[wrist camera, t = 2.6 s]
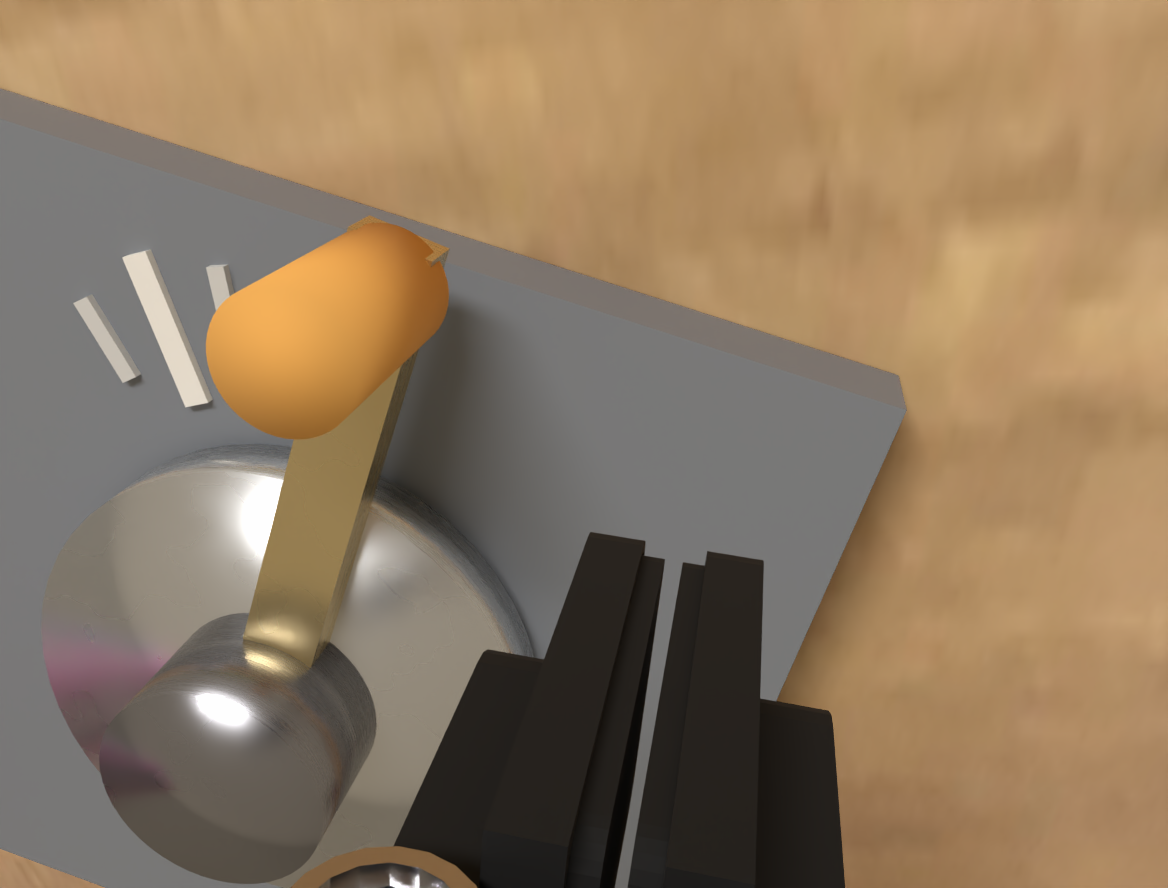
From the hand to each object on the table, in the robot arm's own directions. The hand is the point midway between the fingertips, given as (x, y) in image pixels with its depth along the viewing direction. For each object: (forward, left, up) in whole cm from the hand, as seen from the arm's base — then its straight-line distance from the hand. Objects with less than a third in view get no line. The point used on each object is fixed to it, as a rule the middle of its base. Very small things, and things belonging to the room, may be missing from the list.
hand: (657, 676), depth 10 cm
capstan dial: (+7, +8, -11) cm, 16 cm away
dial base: (+7, +12, -13) cm, 19 cm away
